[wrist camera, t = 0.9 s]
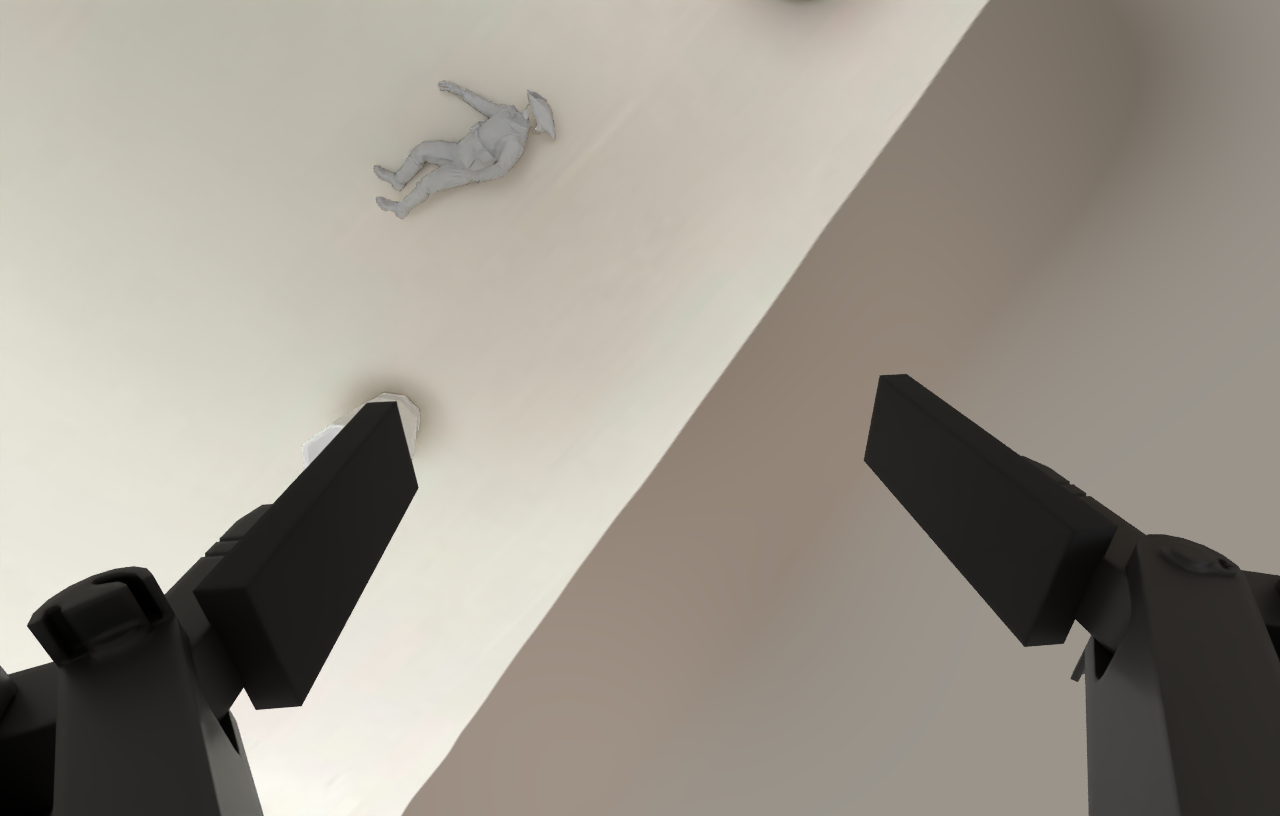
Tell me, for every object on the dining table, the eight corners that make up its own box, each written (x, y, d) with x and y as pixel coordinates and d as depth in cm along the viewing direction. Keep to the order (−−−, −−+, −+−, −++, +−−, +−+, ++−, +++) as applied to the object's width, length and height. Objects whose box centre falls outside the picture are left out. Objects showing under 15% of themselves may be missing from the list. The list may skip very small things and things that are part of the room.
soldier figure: (368, 130, 35) (495, 12, 30) (429, 169, 39) (551, 72, 34) (375, 227, 33) (514, 117, 28) (439, 258, 37) (572, 167, 32)
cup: (452, 403, 43) (423, 454, 36) (402, 490, 46) (366, 552, 39) (368, 360, 41) (319, 405, 34) (322, 454, 44) (269, 513, 37)
